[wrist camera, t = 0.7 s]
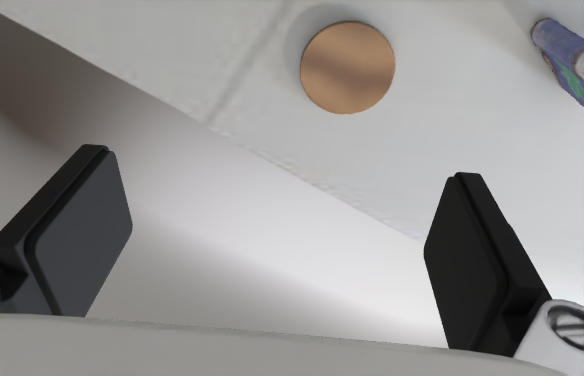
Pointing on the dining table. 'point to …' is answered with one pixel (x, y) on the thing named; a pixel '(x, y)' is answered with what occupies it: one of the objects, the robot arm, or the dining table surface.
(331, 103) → the cork coaster
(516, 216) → the dining table surface
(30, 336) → the robot arm
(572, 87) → the flask
